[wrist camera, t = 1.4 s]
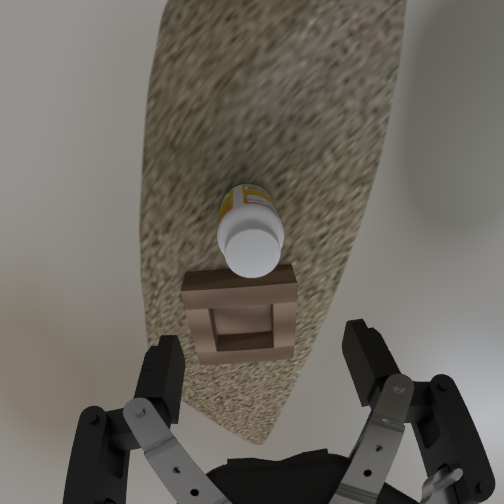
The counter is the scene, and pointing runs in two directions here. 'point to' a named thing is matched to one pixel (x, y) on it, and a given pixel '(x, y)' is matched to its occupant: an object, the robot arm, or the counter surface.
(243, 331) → the socket block
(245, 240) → the supplement bottle
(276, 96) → the counter surface
